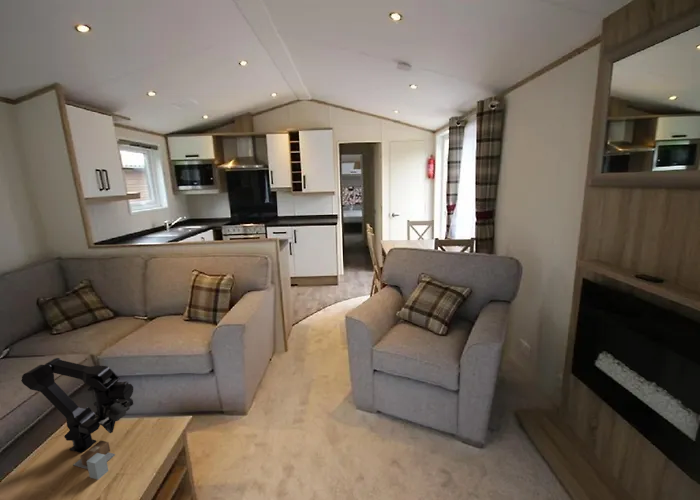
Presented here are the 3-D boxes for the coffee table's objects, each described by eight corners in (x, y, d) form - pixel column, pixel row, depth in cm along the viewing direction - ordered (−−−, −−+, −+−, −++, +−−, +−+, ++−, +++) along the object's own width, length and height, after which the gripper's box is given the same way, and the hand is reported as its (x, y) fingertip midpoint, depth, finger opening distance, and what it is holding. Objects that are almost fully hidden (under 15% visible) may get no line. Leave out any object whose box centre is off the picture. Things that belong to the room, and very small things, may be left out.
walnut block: (102, 448, 136) (82, 464, 128) (100, 440, 135) (80, 455, 127) (110, 450, 135) (90, 466, 127) (108, 442, 134) (88, 457, 126)
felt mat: (73, 465, 129) (73, 464, 129) (94, 449, 136) (93, 448, 136) (95, 471, 126) (95, 470, 126) (115, 454, 133) (115, 454, 133)
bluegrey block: (89, 477, 123) (86, 461, 122) (100, 468, 127) (97, 452, 126) (98, 479, 122) (94, 463, 121) (108, 470, 126) (105, 454, 124)
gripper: (95, 417, 123) (103, 454, 126) (140, 387, 140) (146, 420, 143) (74, 412, 126) (81, 448, 129) (120, 383, 143) (126, 416, 147)
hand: (111, 432), depth 137 cm, fingers closed
